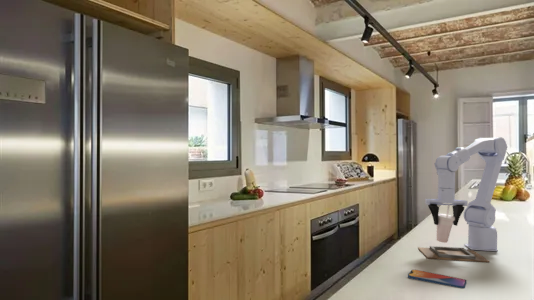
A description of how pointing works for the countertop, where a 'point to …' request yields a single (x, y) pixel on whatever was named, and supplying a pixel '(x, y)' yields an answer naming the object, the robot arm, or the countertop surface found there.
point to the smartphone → (437, 278)
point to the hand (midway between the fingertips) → (445, 224)
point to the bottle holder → (452, 254)
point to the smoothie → (444, 226)
